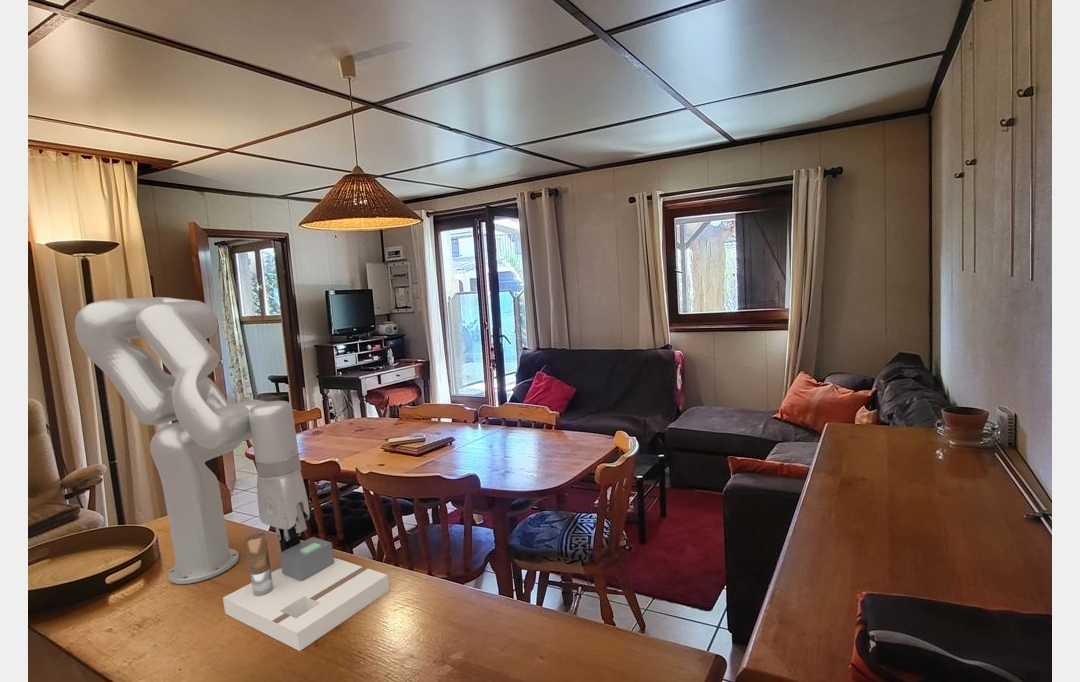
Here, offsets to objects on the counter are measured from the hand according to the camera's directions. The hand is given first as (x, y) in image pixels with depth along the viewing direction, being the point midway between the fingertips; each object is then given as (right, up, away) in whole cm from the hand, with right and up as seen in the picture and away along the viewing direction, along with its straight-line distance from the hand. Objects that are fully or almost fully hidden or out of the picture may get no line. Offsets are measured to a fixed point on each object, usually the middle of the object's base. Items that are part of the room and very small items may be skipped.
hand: (292, 556), depth 105 cm
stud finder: (+4, -1, -3) cm, 5 cm away
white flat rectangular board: (+7, -5, -9) cm, 12 cm away
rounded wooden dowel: (-1, -2, -9) cm, 10 cm away
